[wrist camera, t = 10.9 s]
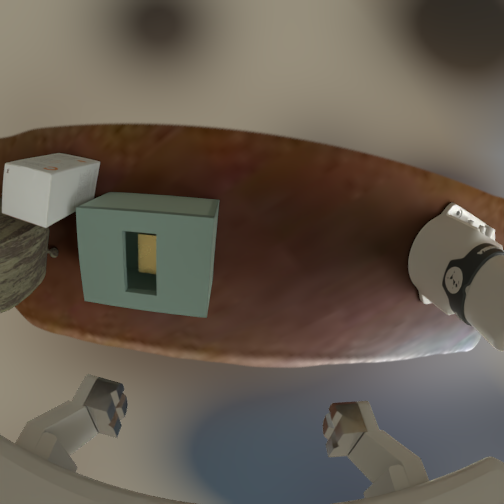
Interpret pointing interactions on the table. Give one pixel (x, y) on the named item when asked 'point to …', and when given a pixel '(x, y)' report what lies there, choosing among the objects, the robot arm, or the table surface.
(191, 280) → the coin box
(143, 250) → the wooden yellow block
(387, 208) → the table surface
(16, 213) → the small box
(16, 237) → the tabletop clock
